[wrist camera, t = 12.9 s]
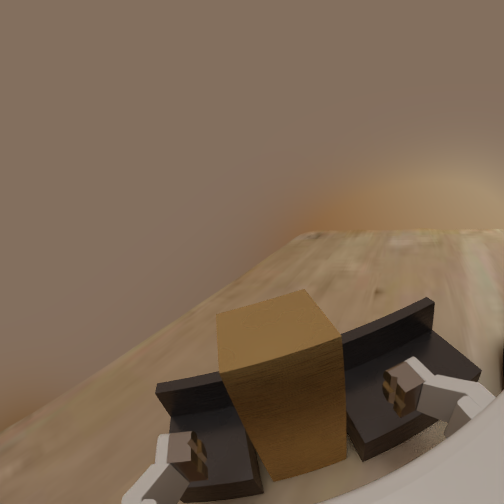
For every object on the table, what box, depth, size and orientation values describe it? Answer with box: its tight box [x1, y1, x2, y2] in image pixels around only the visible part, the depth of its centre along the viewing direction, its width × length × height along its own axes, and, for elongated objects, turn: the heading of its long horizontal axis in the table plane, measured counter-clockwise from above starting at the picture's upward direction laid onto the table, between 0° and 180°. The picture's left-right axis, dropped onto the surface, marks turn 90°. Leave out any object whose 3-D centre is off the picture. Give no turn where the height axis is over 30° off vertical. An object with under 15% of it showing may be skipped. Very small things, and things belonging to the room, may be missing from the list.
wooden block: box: [216, 289, 346, 482], centre depth 13 cm, size 4×4×10 cm
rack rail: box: [155, 297, 482, 503], centre depth 14 cm, size 7×20×5 cm, turn 98°
